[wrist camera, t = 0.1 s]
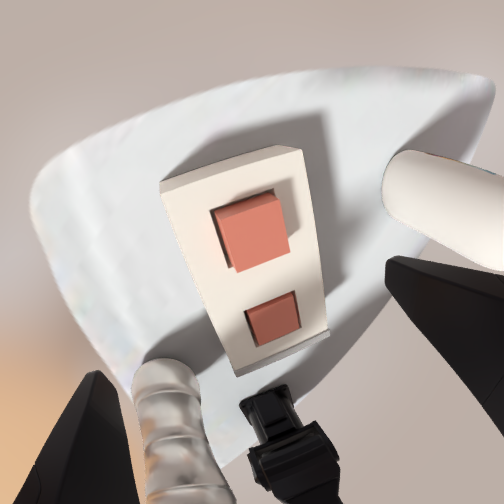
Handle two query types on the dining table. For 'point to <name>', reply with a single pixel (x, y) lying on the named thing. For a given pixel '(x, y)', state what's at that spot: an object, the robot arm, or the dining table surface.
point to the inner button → (273, 318)
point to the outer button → (253, 231)
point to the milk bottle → (448, 204)
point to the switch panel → (261, 276)
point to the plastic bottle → (175, 437)
